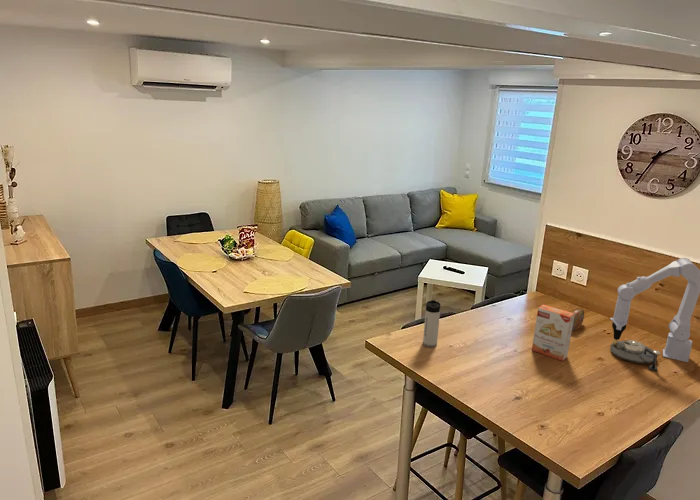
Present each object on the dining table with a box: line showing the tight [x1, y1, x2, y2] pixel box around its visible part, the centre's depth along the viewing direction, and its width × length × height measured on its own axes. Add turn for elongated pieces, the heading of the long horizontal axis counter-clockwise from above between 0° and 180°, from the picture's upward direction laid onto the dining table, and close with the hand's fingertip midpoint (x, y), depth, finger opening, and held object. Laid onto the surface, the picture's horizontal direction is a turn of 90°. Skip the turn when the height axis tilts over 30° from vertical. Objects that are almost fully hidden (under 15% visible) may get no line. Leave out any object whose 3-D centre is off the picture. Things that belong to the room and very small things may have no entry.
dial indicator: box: [644, 348, 661, 372], centre depth 222 cm, size 6×6×8 cm
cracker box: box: [531, 304, 575, 362], centre depth 228 cm, size 14×6×21 cm, turn 49°
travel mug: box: [422, 299, 441, 348], centre depth 233 cm, size 6×7×20 cm
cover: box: [623, 339, 646, 355], centre depth 231 cm, size 8×8×4 cm
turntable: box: [609, 338, 654, 364], centre depth 231 cm, size 18×18×4 cm
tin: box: [571, 308, 585, 331], centre depth 258 cm, size 15×3×8 cm, turn 136°
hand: (616, 338), depth 239 cm, fingers closed
